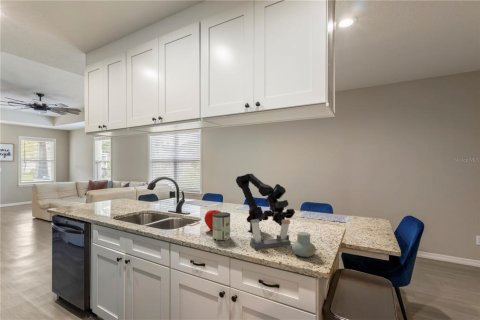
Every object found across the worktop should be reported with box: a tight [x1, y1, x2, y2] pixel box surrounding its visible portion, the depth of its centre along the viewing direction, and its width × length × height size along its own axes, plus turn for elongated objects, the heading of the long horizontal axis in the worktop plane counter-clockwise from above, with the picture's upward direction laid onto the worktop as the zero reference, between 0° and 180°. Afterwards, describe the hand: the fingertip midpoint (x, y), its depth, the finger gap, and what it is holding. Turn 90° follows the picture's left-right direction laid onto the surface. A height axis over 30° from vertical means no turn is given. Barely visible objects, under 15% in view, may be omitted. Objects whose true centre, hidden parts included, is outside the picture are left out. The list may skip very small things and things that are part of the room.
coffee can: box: [212, 211, 231, 241], centre depth 138 cm, size 10×10×14 cm
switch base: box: [249, 234, 292, 250], centre depth 126 cm, size 6×21×4 cm, turn 110°
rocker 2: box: [279, 218, 291, 239], centre depth 127 cm, size 2×4×11 cm, turn 110°
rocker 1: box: [251, 219, 262, 242], centre depth 125 cm, size 2×4×11 cm, turn 110°
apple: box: [204, 209, 222, 231], centre depth 155 cm, size 12×12×13 cm
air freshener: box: [291, 231, 317, 258], centre depth 112 cm, size 11×8×10 cm
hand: (284, 227), depth 128 cm, fingers closed, pressing on rocker 2
